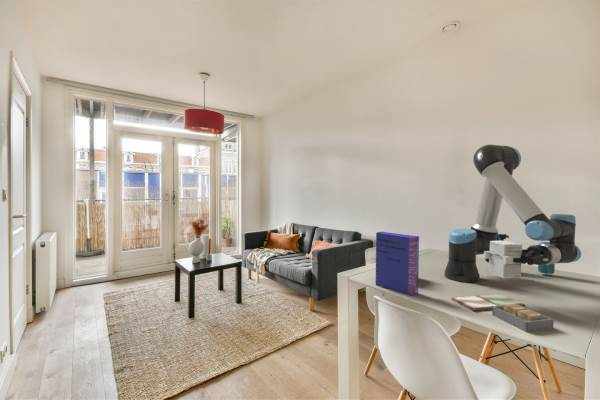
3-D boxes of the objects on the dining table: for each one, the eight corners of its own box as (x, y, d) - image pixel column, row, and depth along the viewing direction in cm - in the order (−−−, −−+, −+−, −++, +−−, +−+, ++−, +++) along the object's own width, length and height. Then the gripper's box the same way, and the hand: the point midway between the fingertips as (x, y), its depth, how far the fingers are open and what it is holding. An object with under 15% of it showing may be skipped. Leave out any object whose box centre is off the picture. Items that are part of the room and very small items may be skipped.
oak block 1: (503, 316, 97) (503, 304, 97) (513, 315, 98) (513, 303, 98) (514, 321, 93) (515, 309, 93) (524, 320, 94) (525, 308, 94)
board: (451, 300, 111) (451, 297, 111) (498, 296, 116) (498, 293, 116) (474, 313, 101) (474, 308, 100) (525, 307, 105) (525, 303, 105)
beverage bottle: (557, 277, 141) (559, 237, 140) (542, 276, 142) (543, 236, 142) (549, 273, 147) (550, 235, 147) (534, 272, 149) (535, 234, 148)
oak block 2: (517, 322, 92) (517, 310, 92) (527, 321, 93) (528, 309, 93) (529, 328, 88) (530, 316, 88) (540, 327, 89) (540, 314, 89)
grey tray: (492, 316, 98) (492, 306, 98) (516, 313, 100) (516, 303, 100) (526, 333, 86) (526, 322, 86) (553, 330, 88) (553, 319, 88)
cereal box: (418, 293, 120) (419, 236, 119) (412, 296, 116) (413, 237, 115) (381, 282, 133) (382, 231, 132) (375, 285, 129) (376, 232, 129)
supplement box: (487, 272, 112) (488, 240, 111) (505, 272, 113) (506, 240, 112) (503, 278, 105) (504, 244, 104) (521, 278, 105) (523, 243, 105)
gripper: (571, 271, 103) (520, 275, 97) (516, 257, 123) (471, 260, 117) (572, 250, 102) (521, 253, 97) (517, 240, 122) (472, 242, 117)
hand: (494, 257), depth 107 cm, fingers closed on supplement box, 8 cm apart
